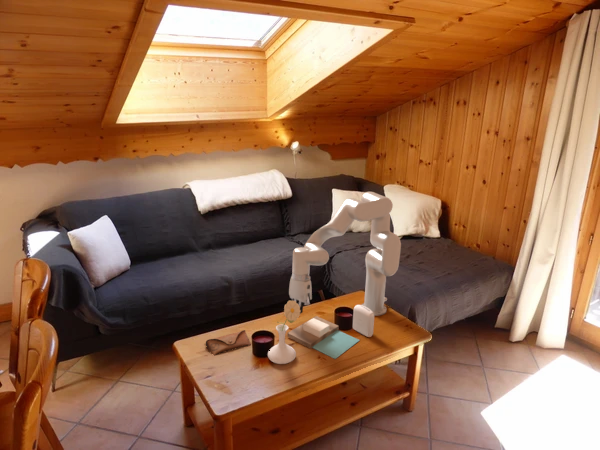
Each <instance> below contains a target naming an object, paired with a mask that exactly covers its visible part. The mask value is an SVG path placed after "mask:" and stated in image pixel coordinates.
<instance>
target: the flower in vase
mask: <svg viewBox="0 0 600 450" xmlns="http://www.w3.org/2000/svg"><path fill="white" fill-rule="evenodd" d="M283 309H284V310H283V313H284V315H283V316H285V318H286V319H285V320H284V321H285V322H279V321H277V322H276V323H277V324H278V325H276V326H275V330H276V331H277V333H278V343H277V344H275V345H273V346H272V347H271V348H270V349H269V350H270V351H269V350H268V351H267V358H268V359H269V360H270V361H271V362H273V363H274V364H278V365H285V364H288V363H291V362H293V361H294V360H295V358H296V357H297V352H296V350H295V349H294V348H293V347H292V346H291V345H289V344H287V343H286V334H287V331H288V330H289V326H288V325H287V324H286V323H287V322H288V323H290V324H292V323H294V322H295V321H297V319H299V318H300V316H301V314H300V312H301V310H300V307H299V305H298V304H297V303H296V301H293V299H291V300H288V301H287V303H286V304H284V308H283Z"/></svg>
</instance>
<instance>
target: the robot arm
mask: <svg viewBox="0 0 600 450" xmlns="http://www.w3.org/2000/svg"><path fill="white" fill-rule="evenodd" d="M393 206H394V205H393V201H392V199H390V198H389V197H387V196H384V195H381V194H379V193H377V192H374V191H367V192H364V193H363V194H362V195H361V200H359V199H356V198H354V197H353V198H352V197H349V198H346V199H345V200H344V201H343V203H342V204H341V205H340V207H339V208H338V210H336V212H335V213H334V215H333V216H332V218H331V219H330V220H329V222H327V224H324V225H323V226H321V227H319V228H318V229H317V230H316V231H314V232H313V233H312V234H311V235H310V237H309V238H308V239H307V241H306V242H305V244H304V246H302V247H296V248H294V249H293V251H292V268H291V269H292V272H291V273H292V274H291V276H290V281H289V287H288V295H289V298H290V299H291V300H293V301H296V303H297V304H298V305H299V307H300V310H301V312H300V315H301V314H302V313H303V312H304V310H303V309H304V306H308V305H310V304H311V303H310V301H311V300H312V299H313V295H312V294H313V293H312V289H313V288H312V281H311V276H310V268H311V267H310V266H324V265H326V264H327V263H328V262H329V259H330V255H329V253H328V251H327V250H326V249H324V248H323V247H322V245H323V244H324V243H325V242H326V241H327V240H329V239H330V238H331V239H332V238H335V237H341V236H344V234H345V233H346V232H347V231H348V229H349V228H350V227H351V226H352V224H353V223H354V221H357V222H360V223H361V222H362V223H364V222H369V221H371V226H370V240H369V242H370V243H371V245H372V246H373V247H374V248H371V249H370V250H368V251H367V253H366V255H365V270H366V274H365V275H366V276H365V289H364V291H365V292H364V302H363V303H361V305H362V306H365V307H367V308H369V309H370V310H371V311H372V312H373V313H374V317H375V316H376V317H377V316H382V315H385V314H386V313H387V307H386V306H385V302H387V300H388V297H385V294H386V293H385V292H386V283H387V277H391V276H393V275H396V273H397V272H398V269H399V265H400V259H401V249H402V248H401V247H402V243H401V239H400V237H399V236H398V235H397V234H395V233H394V232H392V231H391V215H390V213H391V212H392V211H393Z"/></svg>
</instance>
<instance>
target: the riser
mask: <svg viewBox="0 0 600 450" xmlns="http://www.w3.org/2000/svg"><path fill="white" fill-rule="evenodd" d="M313 318H315V319H317V320H319V321H321V322H324V323H326V324H328V325H329V332H327V333H326V334H324V335H323V336H321V337H317V336H315V335H313V334H311V333H309V332H307V331H304V330H303V324H304V323H306V322H308V321H309V320H311V319H313ZM309 320H307V321H305V322H303V323H302V324H300V325H299V326H297V327H296V328H293V329H291V330H290V331H288V332H287V338H289V339H291V340H293V341H295V342H297V343H299V344H301V345H303V346H305V347H307V348H308V349H313V348H312V347H313V346H314V345H316V344H317V343H319V342H320V341H322V340H323V339H325V338H326V337H328V336H329V335H331V334H332V333H334V332H335V331H336V330H338V331H340V329H339V325H338V324H335V323H333V322H331V321H329V320H327V319H324V318H322V317H320V316H318V315H316V316H314V317H312V318H310V319H309Z"/></svg>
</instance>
